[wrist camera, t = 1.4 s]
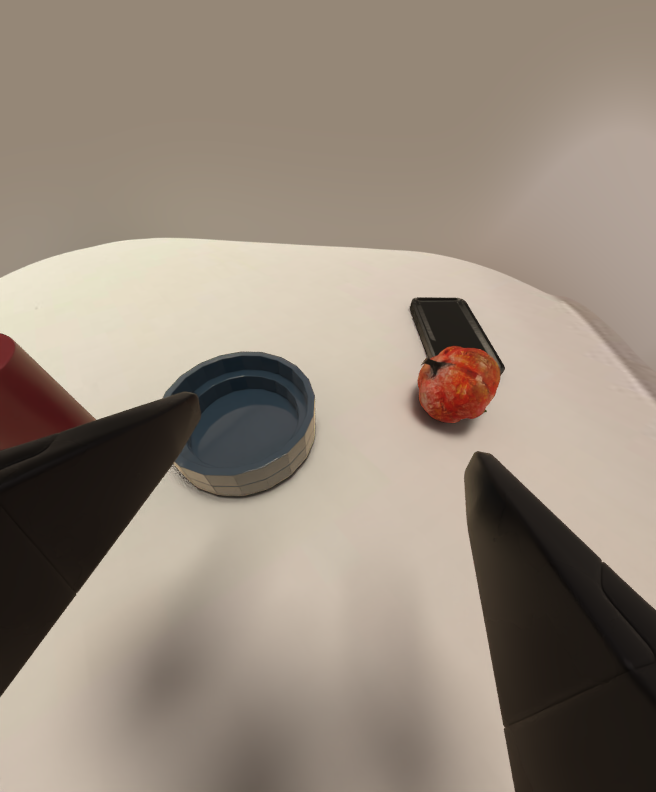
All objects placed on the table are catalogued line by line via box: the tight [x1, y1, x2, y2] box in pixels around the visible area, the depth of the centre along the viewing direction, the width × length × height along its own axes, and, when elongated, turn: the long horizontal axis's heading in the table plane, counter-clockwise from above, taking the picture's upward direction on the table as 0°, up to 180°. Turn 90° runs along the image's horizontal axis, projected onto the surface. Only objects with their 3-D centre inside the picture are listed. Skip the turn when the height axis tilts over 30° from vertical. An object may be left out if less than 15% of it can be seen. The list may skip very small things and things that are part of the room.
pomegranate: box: [418, 346, 500, 423], centre depth 28 cm, size 7×7×10 cm
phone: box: [410, 298, 505, 376], centre depth 37 cm, size 8×1×15 cm
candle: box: [0, 333, 96, 450], centre depth 20 cm, size 6×6×13 cm
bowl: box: [162, 352, 315, 496], centre depth 26 cm, size 13×13×4 cm
